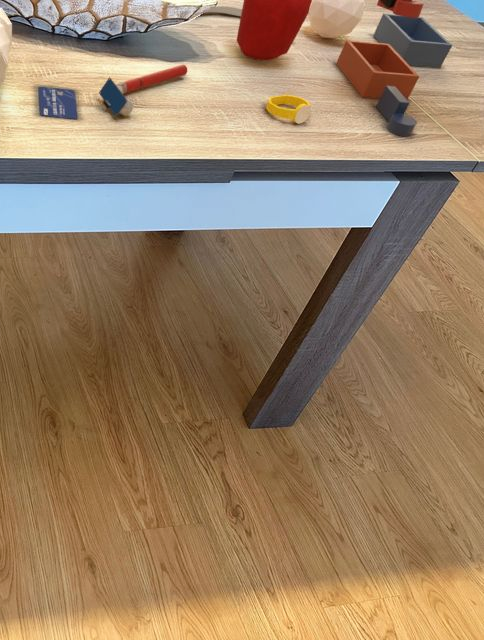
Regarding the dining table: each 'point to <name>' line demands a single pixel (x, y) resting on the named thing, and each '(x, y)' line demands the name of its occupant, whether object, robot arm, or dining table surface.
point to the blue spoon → (396, 111)
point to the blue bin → (413, 40)
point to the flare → (153, 78)
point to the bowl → (4, 43)
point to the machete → (226, 10)
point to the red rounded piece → (270, 26)
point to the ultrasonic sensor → (115, 99)
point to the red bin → (375, 68)
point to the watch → (296, 114)
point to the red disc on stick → (405, 8)
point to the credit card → (57, 103)
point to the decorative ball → (335, 16)
